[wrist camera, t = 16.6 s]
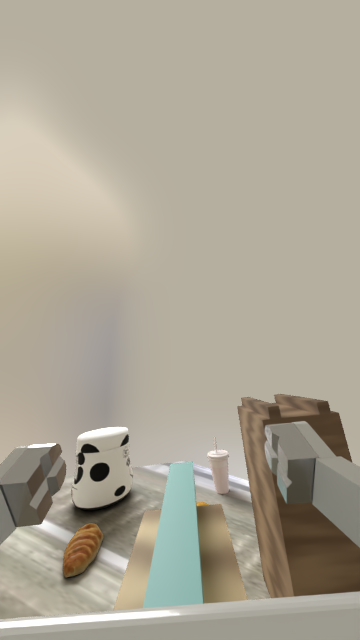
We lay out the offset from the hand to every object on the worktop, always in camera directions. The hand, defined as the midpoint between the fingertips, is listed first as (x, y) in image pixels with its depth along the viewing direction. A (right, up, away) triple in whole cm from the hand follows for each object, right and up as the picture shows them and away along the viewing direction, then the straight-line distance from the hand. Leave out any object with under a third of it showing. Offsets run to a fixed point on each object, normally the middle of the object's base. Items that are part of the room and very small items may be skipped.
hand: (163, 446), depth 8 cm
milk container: (-22, -49, +54) cm, 76 cm away
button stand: (+19, -34, +19) cm, 44 cm away
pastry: (-19, -43, +34) cm, 57 cm away
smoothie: (+13, -45, +53) cm, 70 cm away
